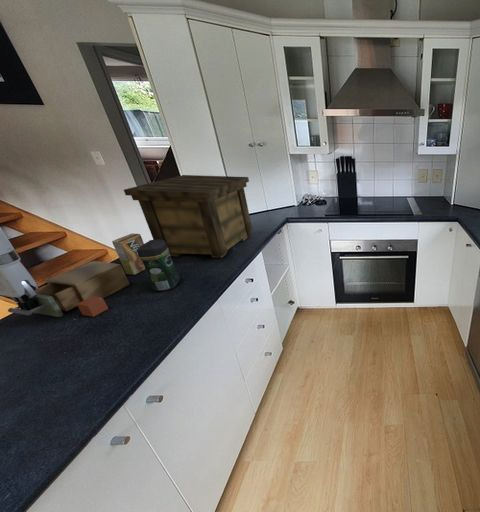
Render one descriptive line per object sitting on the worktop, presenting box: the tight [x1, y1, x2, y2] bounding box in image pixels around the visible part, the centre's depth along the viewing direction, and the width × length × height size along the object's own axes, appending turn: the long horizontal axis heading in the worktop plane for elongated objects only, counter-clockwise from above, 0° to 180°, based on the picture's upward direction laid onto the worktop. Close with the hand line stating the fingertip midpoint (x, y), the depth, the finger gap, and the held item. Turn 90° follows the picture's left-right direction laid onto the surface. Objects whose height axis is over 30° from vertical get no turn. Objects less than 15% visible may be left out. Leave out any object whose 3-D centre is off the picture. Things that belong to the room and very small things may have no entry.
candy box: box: [111, 232, 146, 276], centre depth 115 cm, size 9×4×15 cm, turn 175°
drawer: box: [7, 283, 83, 318], centre depth 91 cm, size 18×11×7 cm, turn 170°
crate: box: [123, 174, 254, 259], centre depth 134 cm, size 35×35×33 cm
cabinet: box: [45, 260, 131, 301], centre depth 100 cm, size 15×13×9 cm
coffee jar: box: [137, 239, 181, 292], centre depth 104 cm, size 10×8×19 cm
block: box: [76, 296, 109, 318], centre depth 91 cm, size 4×4×4 cm
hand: (32, 310), depth 86 cm, fingers closed
